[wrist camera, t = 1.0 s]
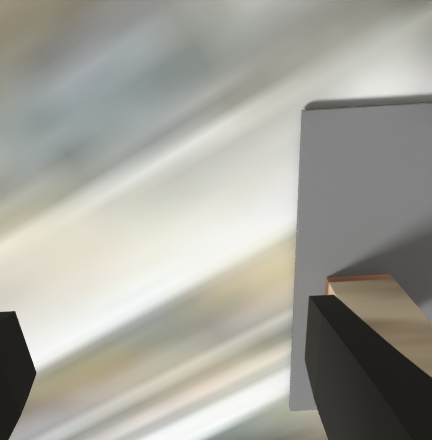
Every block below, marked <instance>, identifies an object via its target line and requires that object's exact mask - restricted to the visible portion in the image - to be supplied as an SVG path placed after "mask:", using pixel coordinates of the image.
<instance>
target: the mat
mask: <svg viewBox="0 0 432 440" xmlns="http://www.w3.org/2000/svg"><path fill="white" fill-rule="evenodd" d="M379 274H390V275H391V276H392V277H393V278H394V279H395V281H396V282H397V283H398V284H399V285H400V286H401V288H402V289H403V290H404V291H405V292H406V293H407V295H408V296H409V297H410V298H411V299H412V301H413V302H414V303H415V304H416V305H417V306H418V308H419V309H420V310H421V311H422V312H423V313H424V315H425V316H426V317H427V318H428V319H429V320H430V322H431V323H432V102H429V103H412V104H395V105H378V106H361V107H344V108H327V109H310V110H302V115H301V139H300V162H299V186H298V210H297V233H296V257H295V281H294V304H293V328H292V352H291V375H290V399H289V407H290V411H300V410H318V409H317V406H316V404H315V401H314V397H313V393H312V389H311V385H310V381H309V377H308V372H307V368H306V364H305V344H306V329H307V315H308V300H309V296H315V295H325V286H326V277H343V276H361V275H379Z"/></svg>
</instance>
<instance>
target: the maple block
mask: <svg viewBox="0 0 432 440" xmlns="http://www.w3.org/2000/svg"><path fill="white" fill-rule="evenodd" d="M325 295H335V296H336V297H337V298H338V299H340V300H341V301H342V302H343V303H344V304H345V305H346V306H347V307H349V308H350V309H351V310H352V311H353V312H354V313H355V314H356V315H358V316H359V317H360V318H361V319H362V320H363V321H364V322H365V323H367V324H368V325H369V326H370V327H371V328H372V329H373V330H374V331H376V332H377V333H378V334H379V335H380V336H381V337H383V338H384V339H385V340H386V341H387V342H389V343H390V344H391V345H392V346H393V347H394V348H396V349H397V350H398V351H399V352H400V353H402V354H403V355H404V356H405V357H407V358H408V359H409V360H410V361H412V362H413V363H414V364H415V365H417V366H418V367H419V368H420V369H422V370H423V371H424V372H425V373H427V374H428V375H429V376H431V377H432V323H431V322H430V320H429V319H428V318H427V317H426V316H425V315H424V313H423V312H422V311H421V310H420V309H419V308H418V306H417V305H416V304H415V303H414V302H413V301H412V299H411V298H410V297H409V296H408V295H407V293H406V292H405V291H404V290H403V289H402V288H401V286H400V285H399V284H398V283H397V282H396V281H395V279H394V278H393V277H392V276H391V275H390V274H379V275H361V276H343V277H326V286H325Z"/></svg>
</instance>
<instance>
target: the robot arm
mask: <svg viewBox="0 0 432 440" xmlns="http://www.w3.org/2000/svg"><path fill="white" fill-rule="evenodd" d="M305 364H306V368H307V372H308V377H309V381H310V385H311V389H312V393H313V397H314V401H315V404H316V406H317V409H318V412H319V415H320V418H321V421H322V423H323V426H324V429H325V432H326V435H327V437H328V440H432V377H431V376H429V375H428V374H427V373H425V372H424V371H423V370H422V369H420V368H419V367H418V366H417V365H415V364H414V363H413V362H412V361H410V360H409V359H408V358H407V357H405V356H404V355H403V354H402V353H400V352H399V351H398V350H397V349H396V348H394V347H393V346H392V345H391V344H390V343H389V342H387V341H386V340H385V339H384V338H383V337H381V336H380V335H379V334H378V333H377V332H376V331H374V330H373V329H372V328H371V327H370V326H369V325H368V324H367V323H365V322H364V321H363V320H362V319H361V318H360V317H359V316H358V315H356V314H355V313H354V312H353V311H352V310H351V309H350V308H349V307H347V306H346V305H345V304H344V303H343V302H342V301H341V300H340V299H338V298H337V297H336V296H335V295H315V296H309V300H308V315H307V329H306V344H305ZM35 376H36V370H35V367H34V364H33V362H32V359H31V356H30V353H29V350H28V347H27V344H26V341H25V339H24V336H23V333H22V330H21V327H20V324H19V321H18V319H17V316H16V313H15V311H11V312H0V440H8V439H9V438H10V436H11V434H12V432H13V430H14V428H15V426H16V424H17V422H18V420H19V418H20V416H21V413H22V411H23V408H24V406H25V403H26V401H27V398H28V396H29V393H30V390H31V387H32V384H33V382H34V379H35Z"/></svg>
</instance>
